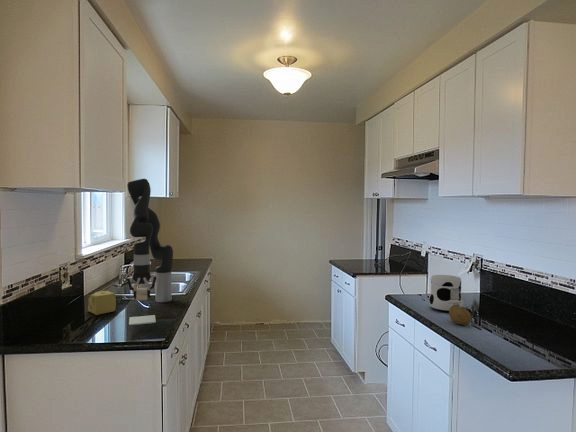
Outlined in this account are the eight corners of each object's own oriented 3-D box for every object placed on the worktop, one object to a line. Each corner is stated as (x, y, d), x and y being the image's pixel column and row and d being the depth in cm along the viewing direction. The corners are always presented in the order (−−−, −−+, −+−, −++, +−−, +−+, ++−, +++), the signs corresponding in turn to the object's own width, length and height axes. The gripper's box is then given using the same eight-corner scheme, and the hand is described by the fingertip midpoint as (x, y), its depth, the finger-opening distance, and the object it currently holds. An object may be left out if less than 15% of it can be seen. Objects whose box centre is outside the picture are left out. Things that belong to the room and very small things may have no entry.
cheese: (87, 311, 209) (87, 293, 209) (108, 307, 217) (108, 289, 217) (95, 315, 202) (95, 296, 202) (116, 311, 210) (116, 292, 210)
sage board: (129, 318, 197) (129, 317, 197) (154, 316, 201) (154, 315, 201) (129, 325, 186) (129, 324, 186) (155, 322, 190) (155, 321, 190)
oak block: (136, 298, 195) (136, 288, 195) (147, 297, 196) (147, 287, 196) (136, 300, 190) (136, 290, 190) (147, 299, 192) (147, 289, 192)
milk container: (433, 304, 228) (434, 273, 228) (465, 309, 218) (466, 276, 218) (424, 310, 214) (425, 277, 214) (458, 316, 204) (459, 281, 204)
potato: (456, 328, 183) (457, 311, 183) (444, 319, 197) (444, 304, 197) (477, 328, 183) (477, 311, 183) (463, 319, 198) (463, 304, 197)
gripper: (125, 265, 187) (125, 300, 187) (157, 263, 192) (157, 298, 192) (126, 263, 194) (126, 297, 194) (156, 261, 199) (156, 295, 199)
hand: (141, 297), depth 193 cm, fingers closed on oak block, 5 cm apart
